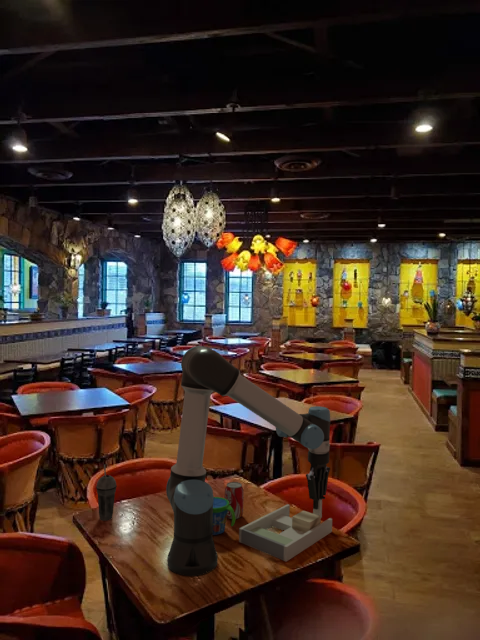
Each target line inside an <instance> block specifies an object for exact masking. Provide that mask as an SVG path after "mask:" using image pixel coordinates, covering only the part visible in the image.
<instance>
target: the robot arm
mask: <svg viewBox="0 0 480 640" xmlns="http://www.w3.org/2000/svg"><path fill="white" fill-rule="evenodd" d="M180 366H181V370H182V373H181V382H180V383H181V384H180V387H181V388H182V389H183V391H184V395H183V404H182V405H183V407H182V414H181V421H180V428H179V429H180V430H179V437H178V446H177V447H178V448H177V455H176V456H177V457H176V461H175V462H176V463H174V464H173V465H172V466H170V467H171V468H170V476H169V478H168V480H167V482H166V487H165V488H166V491H165V492H166V497H167V499H168V501H169V504H170V506H171V509H172V512H173V539H172V542H171V546H170V549H169V551H168V553H167V561H166V562H167V563H166V564H167V565H166V566H167V567H168V570H170V571H172V573H174V574H178V575H181V576H190V577H192V576H195V577H196V576H201V575H205V574H209V573H210V572H212V571H214V570H215V569H216V567H218V562H219V561H218V552H217V549H216V546H215V542H214V539H213V535H212V526H213V502H214V497H215V496H214V491H213V488H212V486H211V485H210V484H209V483H208V482H206V476H207V470H206V469H205V467H204V466H203V464H204V463H203V462H204V455H205V445H206V436H207V429H208V428H207V427H208V421H209V413H210V404H211V403H210V402H211V394H212V393H213V392H215V393H217V394H218V395H220V396H221V397H226V396H227V397H229V398H231V399H232V400H233V401H234V402H237V403H238V404H239V405H241V406H243V407H244V408H246V409H247V410H249V411H250V412H252V413H253V414H255V415H256V416H258V417H259V418H261V419H263V420H264V421H266V422H267V423H268V424H270V425H272V426H274V427H275V431H276V434H277V437H280V438H281V437H282V438H288V437H290V438H292V440H295V441H296V442H298V443H299V444H300V445H302V446H303V447H305V448H306V449H307V450H308V452H307V462H308V463H309V464H310V466H309V467H310V468H309V473H306V474H305V478H306V481H307V482H306V483H307V489H308V490H307V491H308V496H309V499H310V500H312V509H313V510H312V514H315V515H319V516H321V519H322V518H323V514H322V513H323V500H325V499H326V495H327V489H328V481H329V474H330V471H331V467H329V466H327V465H328V464H329V463H330V447H331V443H330V435H331V433H330V431H331V430H330V429H331V428H330V427H331V413H330V412H331V411H330V409H329V408H327V407H325V406H318V405H317V406H315V405H314V406H311V407H309V408H308V412H306V413H298V412H296V411H295V410H293V408H291V407H290V406H287V405H286V404H284V403H283V402H281V401H280V400H279V399H277V398H276V397H274V396H273V395H272V394H270V393H268V391H267V392H266V391H265V390H264V389H262V388H261V387H260V386H258V385H256V384H255V383H253V382H252V381H250V380H249V379H247V377H245V376H243V375H241V370H240V369H239V368H237V367H235V365H233V364H232V363H231V362H229V361H228V360H227V359H226V358H225V357H224V356H222V354H220V353H219V352H218V351H216V350H214V349H213V348H211V347H210V348H209V347H207V346H204V345H200V346H199V345H198V346H193V347H191V348H189V349H188V350H187V351H185V353H184V354H183V356H182V358H181V361H180Z"/></svg>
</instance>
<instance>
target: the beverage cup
mask: <svg viewBox="0 0 480 640" xmlns="http://www.w3.org/2000/svg"><path fill="white" fill-rule="evenodd" d="M106 469H107V468H106V464H103V472H104V473H103V474H104V475H102V476H101V477H100V478H98V480H97V482H96V487H95V488H96V493H97V503H98V517H99V521H104V522H105V521H107V522H108V521H110V520H112V519H113V514H114V507H115V499H116V490H117V487H118V486H117V482H116V481H117V480H116V479H115V477H113V476H112V475H110V474H107V472H106V471H107V470H106Z"/></svg>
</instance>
